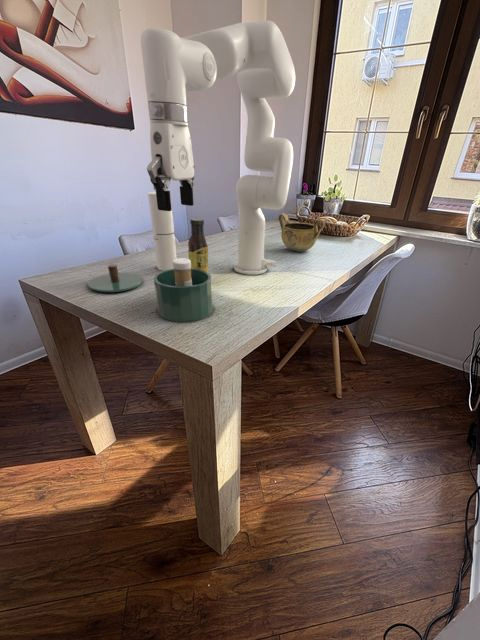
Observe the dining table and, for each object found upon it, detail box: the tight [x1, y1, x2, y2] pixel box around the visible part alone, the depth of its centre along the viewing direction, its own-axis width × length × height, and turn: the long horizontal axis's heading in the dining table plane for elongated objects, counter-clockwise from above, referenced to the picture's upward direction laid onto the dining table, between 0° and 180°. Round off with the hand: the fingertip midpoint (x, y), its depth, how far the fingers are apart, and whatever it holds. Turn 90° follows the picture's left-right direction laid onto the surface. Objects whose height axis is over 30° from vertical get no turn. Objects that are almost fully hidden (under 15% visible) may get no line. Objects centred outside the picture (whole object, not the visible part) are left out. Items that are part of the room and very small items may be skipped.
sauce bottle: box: [187, 217, 209, 273], centre depth 100 cm, size 7×6×20 cm
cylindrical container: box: [147, 191, 178, 271], centre depth 109 cm, size 7×7×25 cm
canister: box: [153, 269, 213, 323], centre depth 84 cm, size 15×15×10 cm
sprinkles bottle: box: [173, 257, 192, 286], centre depth 83 cm, size 5×5×13 cm
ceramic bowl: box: [278, 213, 327, 253], centre depth 142 cm, size 22×17×15 cm
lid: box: [87, 263, 143, 293], centre depth 97 cm, size 16×16×6 cm
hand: (176, 207), depth 72 cm, fingers open, 9 cm apart
